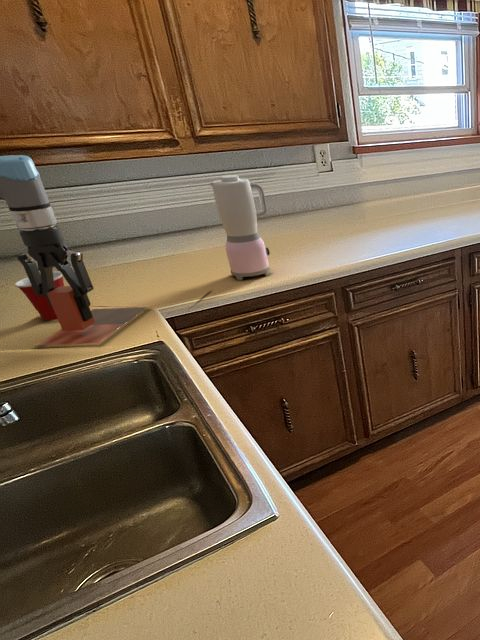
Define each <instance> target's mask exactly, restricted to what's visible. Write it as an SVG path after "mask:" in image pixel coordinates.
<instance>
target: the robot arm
mask: <svg viewBox="0 0 480 640" xmlns="http://www.w3.org/2000/svg"><path fill="white" fill-rule="evenodd" d="M0 201H5V203H6V205H7V208H8V210H9V212H10V214H11V216H12V219H13V221H14V224H15V226H16V228H17V229H20V230H19V232H18V233H19V236H20V238H21V241H22V242H23V245H24V246H25V247H27V252H24V253H22V254H19V255H17V256H16V257H17V260H18V261H19V263H20V265H22V266H23V268H24V272H25V274H26V276H27V277H28V278H29V280H30V283H31V285H32V288H33V290H34V292H35V294H36V295H43V296H45V297H46V298H47V300H48V303H49V305H50V307H51V308H52V309H53V307H52V304H51V302H50V300H49V297H48V295H47V293H48V292H50V291H52V290H54V289H55V285H54V278H53V272H54V271H53V269H54V268H55V269H56V270H57V272H61V273H62V275H63V279H65V280H66V282H67V283H68V286H71V288H72V289H73V291H74V292H75V294H76V295H74V299H75V301H76V304H77V306H78V309H79V311H80V314H81V316H82V319H83V321H88V320H89V319H91V318H92V317H93V316H92V313H91V311H90V310H91V308H90V307H91V301H90V298H89V296H88V293H90V292H92V291H93V290H94V285H93V282H92V280H91V278H90V274H89V273H88V270H87V268H86V265H85V263H84V261H83V259H84V254H83V252H82V251H81V250H77V251H73V250H70V249H69V248H68V247H67V246H66V245H65V238H64V235H63V233H62V230H61V227H60V226H59V225H57V223H58V220H57V217H56V215H55V211H54V210H53V207H52V205H51V203H50V199H49V197H48V195H47V192H46V189H45V186H44V184H43V181H42V179H41V175H40V173H39V171H38V170H37V168H36V165H35V163H34V160H33V159H32V158H31V157H30V156H28V155H25V154H17V155H16V154H15V155H14V154H11V155H0ZM40 274H41V275H40Z"/></svg>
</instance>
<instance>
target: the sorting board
mask: <svg viewBox="0 0 480 640" xmlns="http://www.w3.org/2000/svg"><path fill="white" fill-rule="evenodd" d="M146 309H148V306H147V307H146V306H143V307H142V306H141V307H117V308H116V307H115V308H114V307H113V308H93V309H92V310H91V309H90V310H91V313H92V315H93V318H94V320H95V323H93V324H92V325H90V326H89V327H87V328H86V329H84V330H73V331H63V330H62V328H61V329H60V330H57V332H54V333H53V334H52V335H50V336H48V337H47V338H45V339H43V340H42V341H40V342H39V343H37V344H36V345H35V346H36V347H37V346H40V347H41V346H54V347H52V349H53V348H54V349H55V348H59V346H61V345H62V346H65V345H78V346H77V348H79V347H81V348H82V347H83V346H82V345H87V344H88V345H89V344H100V343H101V342H102V341H104V340H105V339H107V338H108V337H109V336H110V335H112V334H113V333H115V332H116V331H117V330H119V329H120V328H122V327H123V326H124V325H126V324H127V323H128V322H130V321H131V320H132V319H134V318H135V317H136V316H138V315H140V313H142V312H143V311H145V310H146ZM79 345H80V346H79ZM57 346H58V347H57Z"/></svg>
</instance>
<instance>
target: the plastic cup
mask: <svg viewBox="0 0 480 640" xmlns="http://www.w3.org/2000/svg"><path fill="white" fill-rule="evenodd" d="M40 275H41V274H40ZM53 278H54V285H55V289H56V288H58V287H60V286H65V282H64V276H63V275H62V273H61V272H60V271H53ZM14 286H15V287H17V288H18V289H19V290H20V291H21V292H22V293H23V294H24V295H25V296H26V298H27V299H28V300H29V302H30V304H31V305H32V306H33V308H34V309H35V310H36V311H37V313H38V314H39V316H40V317H41V318H42V319H43V320H44V321H52V320H58V318H57V316H56V314H55V311H54V309H52V308H51V307H50V305H49V303H48V300H47V298H46V297H45V296H43V295H36V294H35V292H34V290H33V288H32V285H31V283H30V280H29V278H28V276H27V277H25V278H21V279H20V280H18V281H16V282H15V283H14Z"/></svg>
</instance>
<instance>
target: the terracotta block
mask: <svg viewBox="0 0 480 640" xmlns="http://www.w3.org/2000/svg"><path fill="white" fill-rule="evenodd" d="M47 295H48V297H49V300H50V302H51V304H52V307H53V309H54V311H55V314H56V316H57V318H58V319H57V320H58V324H59V325H60V328H61V329H62V330H63V331H73V330H84V329H86V328H87V327H89V326H90V325H92V324H93V323H95V320H94V318H93V317H92V318H91V319H89V320H88V321H83V319H82V316H81V314H80V311H79V309H78V306H77V304H76V301H75V299H74V295H76V294H75V292H74V291H73V289H72V288H71V286H70V285H64V286H60V287H58V288H56V289H54V290H52V291H50V292H48V293H47ZM90 311H91V309H90ZM92 316H93V315H92Z"/></svg>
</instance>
